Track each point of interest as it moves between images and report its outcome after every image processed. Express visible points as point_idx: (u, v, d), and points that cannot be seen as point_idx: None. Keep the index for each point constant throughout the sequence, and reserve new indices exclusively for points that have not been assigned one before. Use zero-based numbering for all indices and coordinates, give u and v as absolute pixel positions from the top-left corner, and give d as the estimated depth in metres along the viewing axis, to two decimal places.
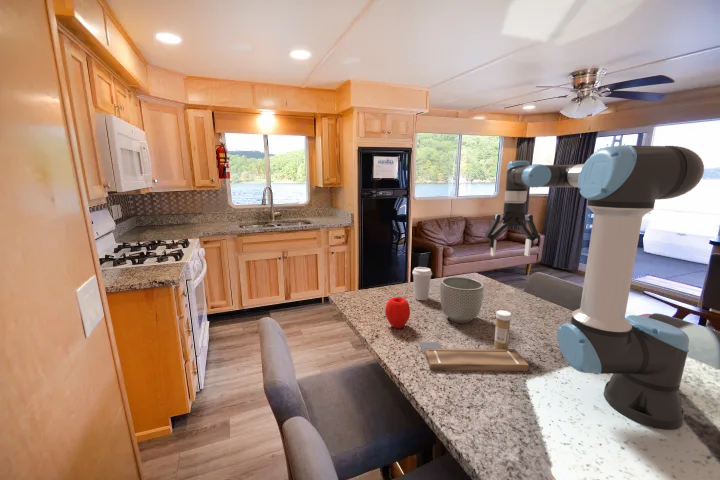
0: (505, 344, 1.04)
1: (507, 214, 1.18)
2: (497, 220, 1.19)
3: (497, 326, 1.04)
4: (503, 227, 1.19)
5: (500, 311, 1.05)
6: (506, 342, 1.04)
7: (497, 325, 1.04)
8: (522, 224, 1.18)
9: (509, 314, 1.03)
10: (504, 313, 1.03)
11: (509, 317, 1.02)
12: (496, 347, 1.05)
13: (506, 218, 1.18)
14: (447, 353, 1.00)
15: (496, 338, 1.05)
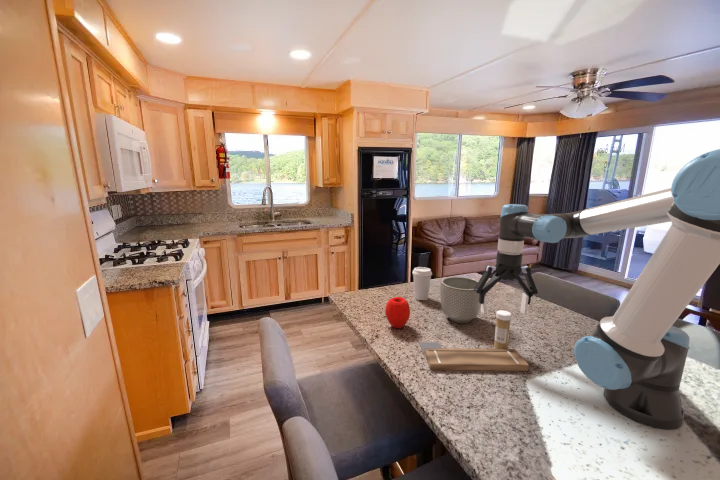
0: (505, 344, 1.04)
1: (500, 266, 1.00)
2: (488, 273, 1.00)
3: (497, 326, 1.04)
4: (495, 281, 1.01)
5: (500, 311, 1.05)
6: (506, 342, 1.04)
7: (497, 325, 1.04)
8: (518, 278, 1.00)
9: (509, 314, 1.03)
10: (504, 313, 1.03)
11: (509, 317, 1.02)
12: (496, 347, 1.05)
13: (499, 271, 1.00)
14: (447, 353, 1.00)
15: (496, 338, 1.05)
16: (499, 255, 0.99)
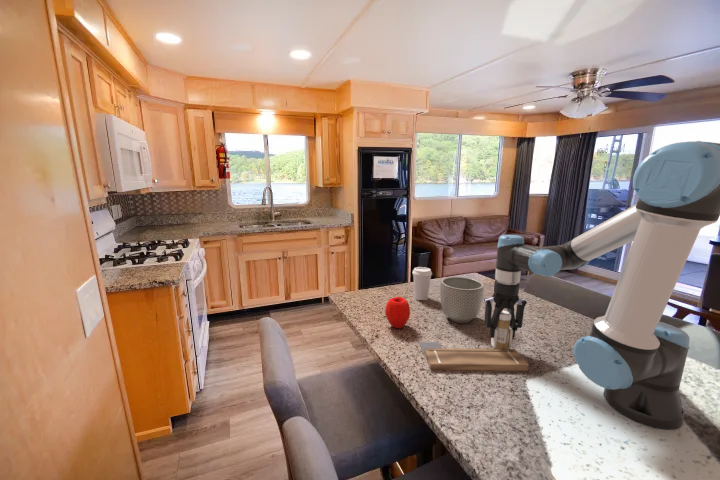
0: (505, 344, 1.04)
1: (498, 295, 1.02)
2: (489, 306, 1.02)
3: (497, 326, 1.04)
4: (499, 312, 1.03)
5: None
6: (506, 342, 1.04)
7: (497, 325, 1.04)
8: (512, 308, 1.02)
9: (509, 314, 1.03)
10: (504, 313, 1.03)
11: (509, 317, 1.02)
12: (496, 347, 1.05)
13: (497, 300, 1.02)
14: (447, 353, 1.00)
15: None
16: (496, 285, 1.01)
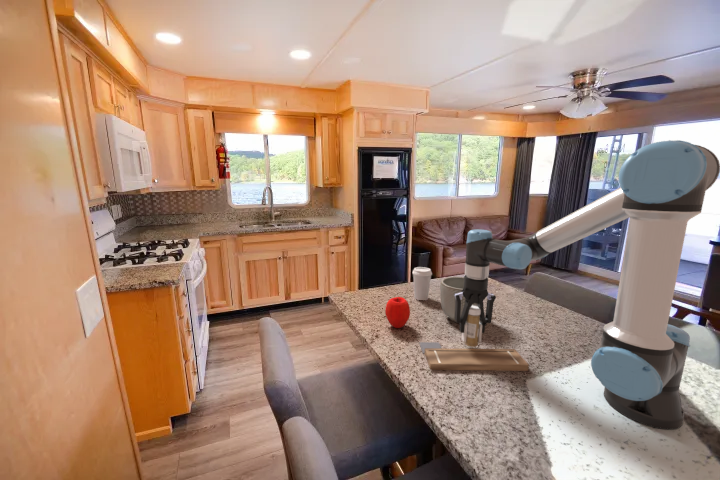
0: (474, 339, 1.04)
1: (467, 290, 1.02)
2: (458, 301, 1.02)
3: (467, 321, 1.04)
4: (468, 307, 1.03)
5: None
6: (476, 337, 1.04)
7: (467, 320, 1.04)
8: (481, 303, 1.02)
9: (478, 309, 1.03)
10: (474, 308, 1.03)
11: (479, 312, 1.02)
12: (466, 342, 1.05)
13: (467, 295, 1.02)
14: (447, 353, 1.00)
15: None
16: (465, 279, 1.01)
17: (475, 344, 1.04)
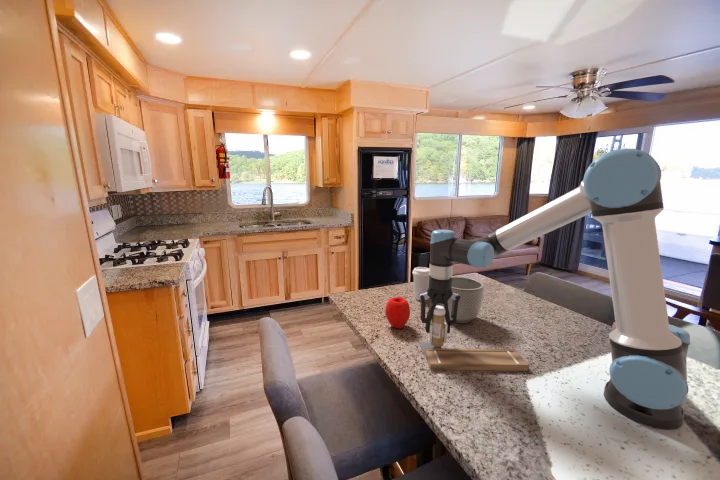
0: (439, 339, 1.04)
1: (431, 290, 1.02)
2: (423, 301, 1.02)
3: (432, 321, 1.04)
4: (433, 307, 1.03)
5: (436, 306, 1.05)
6: (441, 337, 1.04)
7: (432, 320, 1.04)
8: (445, 303, 1.02)
9: (443, 309, 1.03)
10: (439, 308, 1.03)
11: (443, 312, 1.02)
12: (432, 342, 1.05)
13: (431, 295, 1.02)
14: (447, 353, 1.00)
15: None
16: (430, 279, 1.01)
17: (440, 344, 1.04)
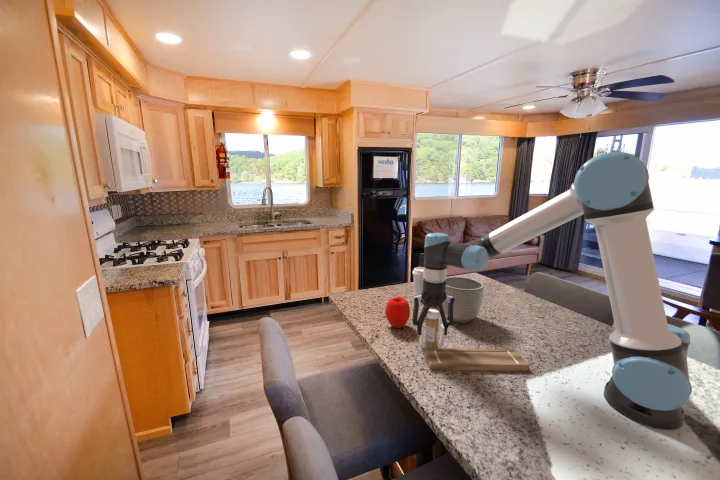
0: (433, 343, 1.04)
1: (425, 293, 1.02)
2: (416, 304, 1.02)
3: (426, 325, 1.04)
4: (426, 310, 1.03)
5: (429, 310, 1.05)
6: (435, 341, 1.04)
7: (426, 324, 1.04)
8: (440, 306, 1.02)
9: (437, 313, 1.03)
10: (432, 312, 1.03)
11: (437, 316, 1.02)
12: (426, 346, 1.06)
13: (425, 298, 1.02)
14: (447, 353, 1.00)
15: (426, 337, 1.05)
16: (424, 283, 1.01)
17: None
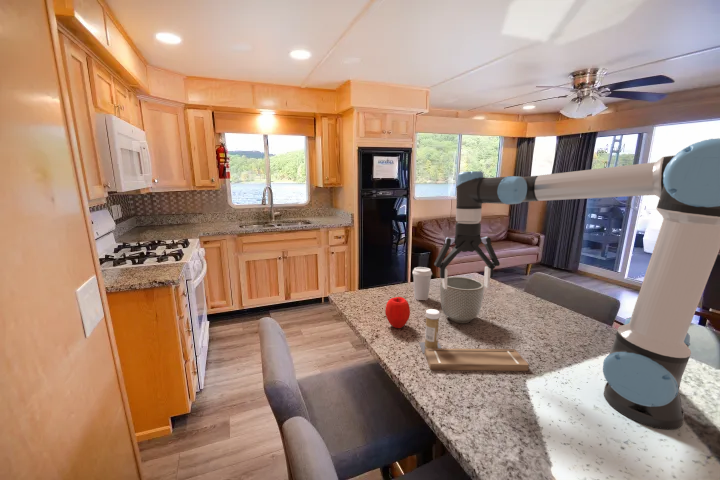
0: (433, 343, 1.04)
1: (459, 237, 0.96)
2: (447, 245, 0.96)
3: (426, 325, 1.04)
4: (455, 253, 0.96)
5: (430, 310, 1.05)
6: (435, 341, 1.04)
7: (426, 324, 1.04)
8: (478, 249, 0.96)
9: (437, 313, 1.03)
10: (432, 312, 1.03)
11: (437, 316, 1.02)
12: (426, 346, 1.06)
13: (458, 242, 0.96)
14: (447, 353, 1.00)
15: (426, 337, 1.05)
16: (457, 225, 0.95)
17: None
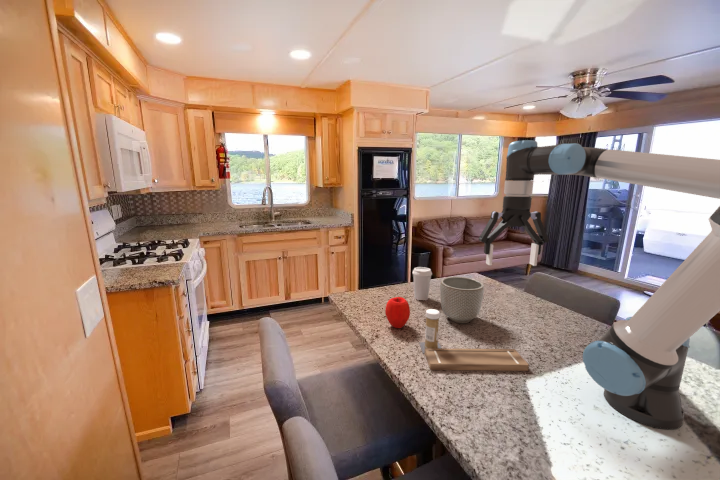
0: (433, 343, 1.04)
1: (507, 211, 0.91)
2: (494, 219, 0.91)
3: (426, 325, 1.04)
4: (502, 228, 0.92)
5: (430, 310, 1.05)
6: (435, 341, 1.04)
7: (426, 324, 1.04)
8: (527, 224, 0.91)
9: (437, 313, 1.03)
10: (432, 312, 1.03)
11: (437, 316, 1.02)
12: (426, 346, 1.06)
13: (506, 216, 0.91)
14: (447, 353, 1.00)
15: (426, 337, 1.05)
16: (506, 198, 0.90)
17: None
